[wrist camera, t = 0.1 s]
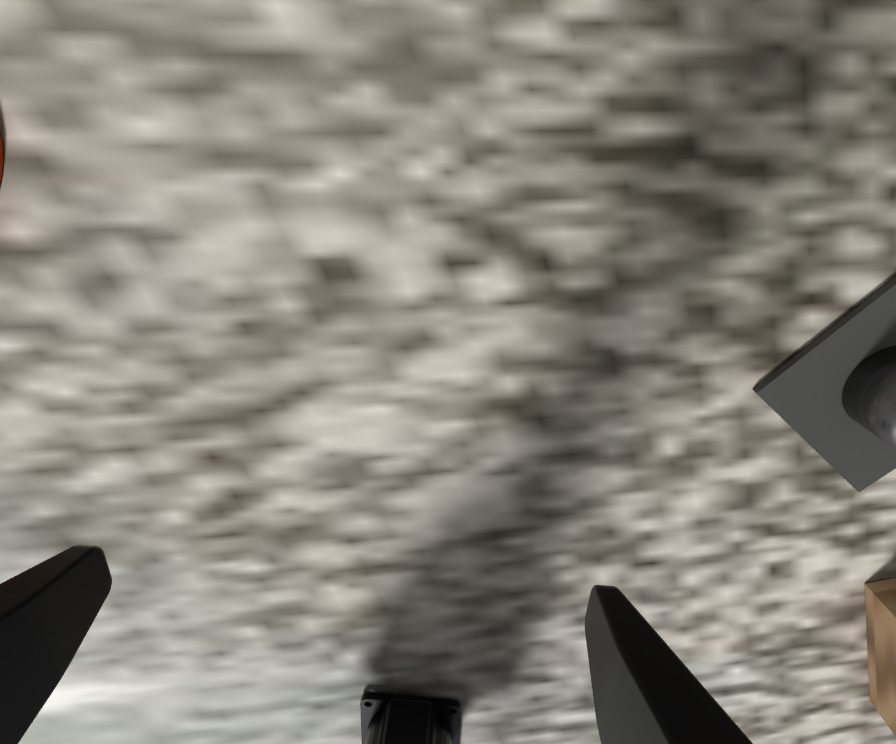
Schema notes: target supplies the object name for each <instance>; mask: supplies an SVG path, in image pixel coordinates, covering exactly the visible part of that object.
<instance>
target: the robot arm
mask: <svg viewBox="0 0 896 744" xmlns="http://www.w3.org/2000/svg"><path fill="white" fill-rule="evenodd" d="M111 585H112V578H111V574H110V571H109V567H108V564H107V561H106V557H105V554H104V551H103V550H102V549H101V548H100V547H98V546H89V545H76V546H73V547H71V548H69V549H67V550H65V551H63V552H61V553H59V554H57V555H55V556H53V557H51V558H50V559H48V560H46V561H44V562H42V563H40V564H38V565H36V566H34V567H32V568H30V569H28V570H26V571H24V572H22V573H20V574H19V575H17V576H15V577H13V578H11V579H9V580H7V581H5V582H3V583H1V584H0V744H18V743H19V741H20V740H21V738H22V737H23V735H24V734H25V732H26V731H27V729H28V728H29V726H30V725H31V723H32V722H33V720H34V719H35V717H36V716H37V714H38V713H39V711H40V710H41V708H42V707H43V705H44V704H45V702H46V701H47V699H48V698H49V696H50V695H51V693H52V692H53V690H54V689H55V687H56V686H57V684H58V683H59V681H60V680H61V678H62V676H63V675H64V673H65V671H66V669H67V668H68V666H69V664H70V663H71V661H72V659H73V657H74V655H75V654H76V652H77V650H78V648H79V646H80V645H81V643H82V641H83V639H84V637H85V636H86V634H87V632H88V630H89V628H90V627H91V625H92V623H93V621H94V619H95V617H96V616H97V614H98V612H99V610H100V608H101V607H102V605H103V603H104V601H105V599H106V598H107V596H108V594H109V592H110V589H111ZM585 634H586V642H587V650H588V658H589V666H590V674H591V681H592V689H593V697H594V705H595V712H596V719H597V725H598V730H599V735H600V740H601V744H753V743H752V742H751V741H750V740H749V739H748V737H747V736H746V735H745V734H744V733H743V732H742V731H741V729H740V728H739V727H738V726H737V725H736V724H735V722H734V721H733V720H732V719H731V718H730V717H729V716H728V714H727V713H726V712H725V711H724V710H723V709H722V707H721V706H720V705H719V704H718V703H717V702H716V700H715V699H714V698H713V697H712V696H711V695H710V694H709V692H708V691H707V690H706V689H705V688H704V687H703V685H702V684H701V683H700V682H699V681H698V680H697V679H696V677H695V676H694V675H693V674H692V673H691V672H690V670H689V669H688V668H687V667H686V666H685V665H684V664H683V662H682V661H681V660H680V659H679V658H678V657H677V655H676V654H675V653H674V652H673V651H672V650H671V649H670V647H669V646H668V645H667V644H666V643H665V642H664V640H663V639H662V638H661V637H660V636H659V635H658V634H657V632H656V631H655V630H654V629H653V628H652V627H651V625H650V624H649V623H648V622H647V621H646V620H645V619H644V617H643V616H642V615H641V614H640V613H639V612H638V610H637V609H636V608H635V607H634V606H633V605H632V604H631V602H630V601H629V600H628V599H627V598H626V597H625V595H624V594H623V593H622V592H621V591H620V590H619V589H618V588H617V587H614V586H604V585H595V586H593V588H592V590H591V594H590V598H589V603H588V607H587V611H586V616H585ZM360 706H361V730H362V744H458V737H459V725H460V713H461V704H460V703H459V702H458V701H456V700H448V699H436V698H423V697H411V696H399V695H386V694H374V693H366V694H363V695H362V699H361V703H360Z"/></svg>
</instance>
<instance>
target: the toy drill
mask: <svg viewBox="0 0 896 744" xmlns="http://www.w3.org/2000/svg"><path fill="white" fill-rule="evenodd" d="M2 168H3V147H2V141H1V137H0V181H1V176H2Z"/></svg>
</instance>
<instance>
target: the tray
mask: <svg viewBox="0 0 896 744" xmlns="http://www.w3.org/2000/svg"><path fill="white" fill-rule="evenodd" d="M865 602H866V623H867V645H868V667H869V688H870V702H871V703H872V704H873V706H874V707H875V708H876V710H877V711H878V713H879V714H880V715H881V717H882V718H883V719H884V721H885V722H886V724H887V725H888V726H889V728H890V729H891V730H892V732H893V733H894V735H895V736H896V578H891V579H886V580H881V581H876V582H871V583H866V584H865Z"/></svg>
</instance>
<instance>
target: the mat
mask: <svg viewBox="0 0 896 744" xmlns="http://www.w3.org/2000/svg"><path fill="white" fill-rule="evenodd" d="M891 346H896V276H895V277H894V278H893V279H892V280H890V281H889V282H888V283H887V284H885V285H884V286H883V287H881V288H880V289H879V290H878V291H876V292H875V293H874V294H873V295H871V296H870V297H869V298H868V299H866V300H865V301H864V302H862V303H861V304H860V305H859V306H857V307H856V308H855V309H854V310H852V311H851V312H850V313H849V314H847V315H846V316H845V317H843V318H842V319H841V320H840V321H838V322H837V323H836V324H835V325H833V326H832V327H831V328H830V329H828V330H827V331H826V332H824V333H823V334H822V335H821V336H819V337H818V338H817V339H816V340H814V341H813V342H812V343H811V344H809V345H808V346H807V347H805V348H804V349H803V350H802V351H800V352H799V353H798V354H797V355H795V356H794V357H793V358H792V359H790V360H789V361H788V362H786V363H785V364H784V365H783V366H781V367H780V368H779V369H778V370H776V371H775V372H774V373H773V374H771V375H770V376H769V377H768V378H766V379H765V380H764V381H762V382H761V383H760V384H759V385H757V386H756V387H755V388H754V389H753V390H754V391H755V392H756V393H757V394H758V395H759V396H760V397H761V398H762V399H763V400H764V401H765V402H766V403H767V404H768V405H769V406H770V407H771V408H772V409H773V410H774V411H775V412H776V413H777V414H778V415H780V416H781V417H782V418H783V419H784V420H785V421H786V422H787V423H788V424H789V425H790V426H791V427H792V428H793V429H794V430H795V431H796V432H797V433H798V434H799V435H800V436H801V437H802V438H803V439H804V440H805V441H806V442H807V443H808V444H809V445H810V446H812V447H813V448H814V449H815V450H816V451H817V452H818V453H819V454H820V455H821V456H822V457H823V458H824V459H825V460H826V461H827V462H828V463H829V464H830V465H831V466H832V467H833V468H834V469H835V470H836V471H837V472H838V473H839V474H840V475H841V476H843V477H844V478H845V479H846V480H847V481H848V482H849V483H850V484H851V485H852V486H853V487H854V488H855V489H856V490H857V491H858V492H860V491H862V490H863V489H865V488H866V487H868V486H869V485H871V484H872V483H874V482H875V481H877V480H878V479H880V478H881V477H883V476H884V475H886V474H888V473H889V472H891V471H892V470H894V469H895V468H896V449H894V448H893V447H891V446H890V445H888V444H887V443H886V442H884V441H883V440H881V439H880V438H878V437H877V436H875V435H874V434H873V433H871V432H870V431H868V430H867V429H865V428H864V427H863V426H861V425H860V424H858V423H857V422H855V421H854V420H853V419H851V418H850V417H849V416H848V415H847V413H846V412H845V410H844V408H843V405H842V391H843V387H844V384H845V382H846V380H847V378H848V376H849V375H850V373H851V372H852V371H853V370H854V368H855V367H856V366H857V365H858V364H859V363H860V362H862V361H863V360H864V359H865V358H867V357H868V356H870V355H872V354H873V353H875V352H877V351H879V350H882V349H884V348H888V347H891Z"/></svg>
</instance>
